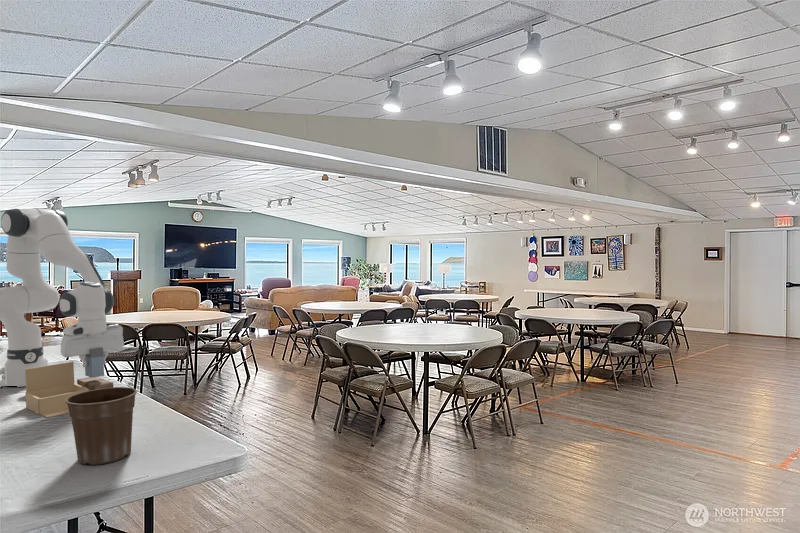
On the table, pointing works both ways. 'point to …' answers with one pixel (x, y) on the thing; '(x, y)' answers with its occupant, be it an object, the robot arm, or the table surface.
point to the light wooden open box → (51, 388)
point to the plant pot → (102, 423)
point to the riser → (94, 383)
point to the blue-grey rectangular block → (95, 363)
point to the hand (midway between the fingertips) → (94, 365)
